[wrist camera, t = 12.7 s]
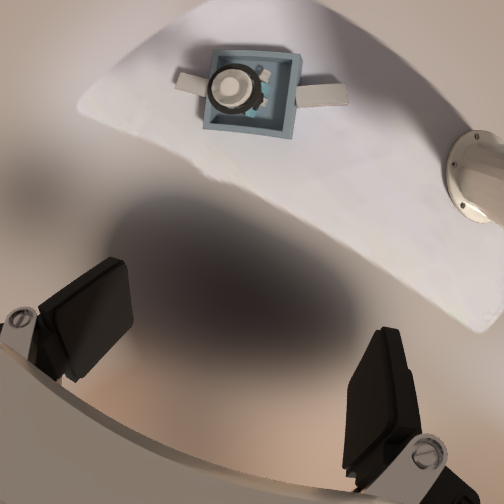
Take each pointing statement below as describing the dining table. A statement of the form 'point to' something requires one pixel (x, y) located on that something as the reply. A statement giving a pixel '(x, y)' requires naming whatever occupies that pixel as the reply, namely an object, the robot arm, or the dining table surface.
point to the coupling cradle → (279, 94)
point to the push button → (238, 89)
